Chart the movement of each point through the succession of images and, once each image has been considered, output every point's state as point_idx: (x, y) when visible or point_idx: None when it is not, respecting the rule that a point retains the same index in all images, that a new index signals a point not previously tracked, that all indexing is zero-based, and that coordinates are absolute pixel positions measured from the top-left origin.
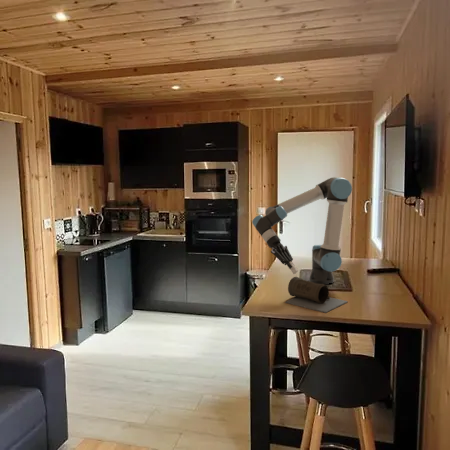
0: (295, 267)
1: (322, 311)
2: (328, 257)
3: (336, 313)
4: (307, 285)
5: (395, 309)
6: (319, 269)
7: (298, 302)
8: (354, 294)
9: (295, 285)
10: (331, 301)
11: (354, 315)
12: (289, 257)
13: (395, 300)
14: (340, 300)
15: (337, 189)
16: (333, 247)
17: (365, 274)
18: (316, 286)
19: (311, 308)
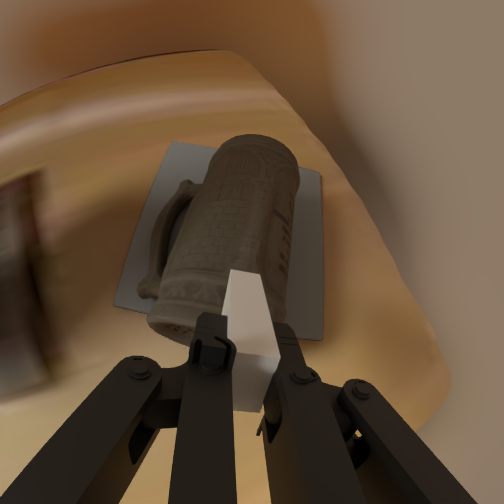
0: (236, 289)
1: (319, 182)
2: None
3: (299, 152)
4: (284, 211)
5: (181, 73)
6: None
7: (297, 283)
8: (72, 153)
9: (284, 295)
10: (202, 178)
11: (281, 120)
12: (184, 416)
13: (108, 82)
14: (173, 158)
15: None
16: None
17: None
18: (287, 163)
19: (321, 216)
